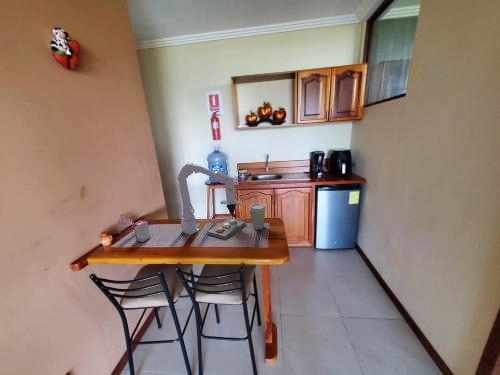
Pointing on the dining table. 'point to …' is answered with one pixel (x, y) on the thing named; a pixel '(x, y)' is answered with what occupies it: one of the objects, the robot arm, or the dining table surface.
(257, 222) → the disposable coffee cup
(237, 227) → the button panel
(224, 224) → the ivory button
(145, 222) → the supplement box
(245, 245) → the dining table surface
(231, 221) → the green button
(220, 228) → the terracotta button
